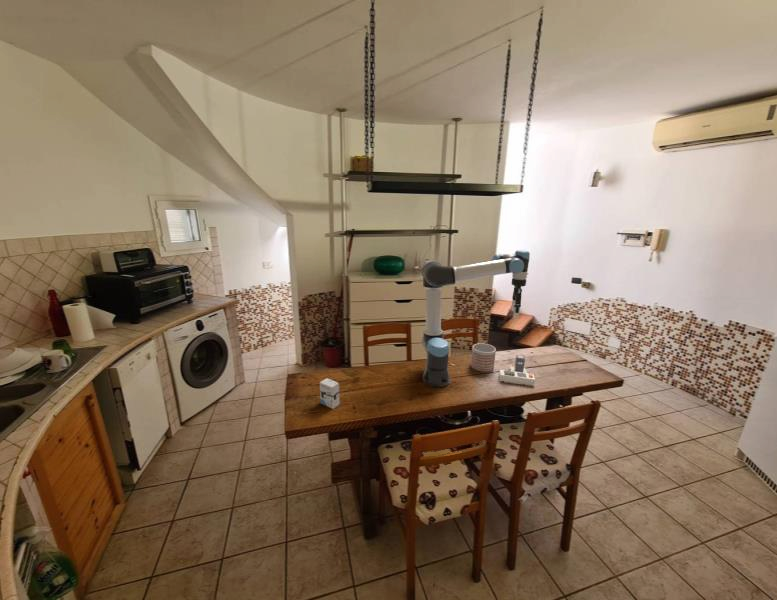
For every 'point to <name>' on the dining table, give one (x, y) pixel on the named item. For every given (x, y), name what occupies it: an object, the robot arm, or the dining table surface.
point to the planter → (483, 357)
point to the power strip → (517, 377)
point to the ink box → (329, 393)
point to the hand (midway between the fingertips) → (514, 314)
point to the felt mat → (514, 369)
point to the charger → (519, 363)
